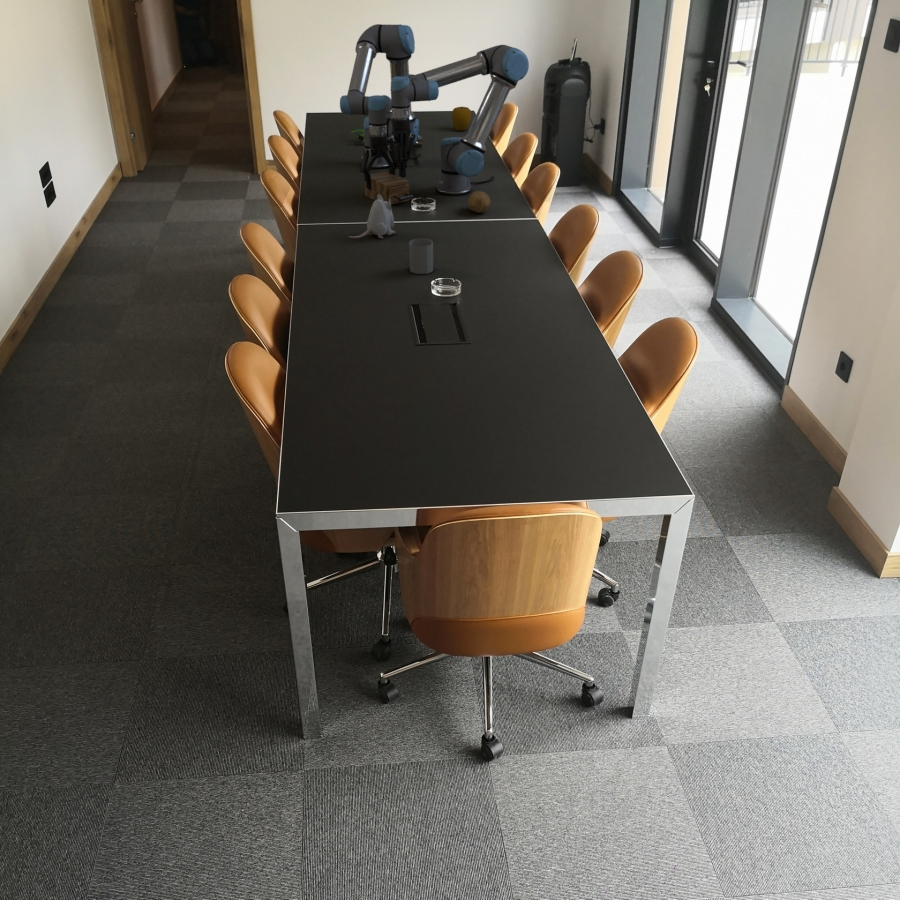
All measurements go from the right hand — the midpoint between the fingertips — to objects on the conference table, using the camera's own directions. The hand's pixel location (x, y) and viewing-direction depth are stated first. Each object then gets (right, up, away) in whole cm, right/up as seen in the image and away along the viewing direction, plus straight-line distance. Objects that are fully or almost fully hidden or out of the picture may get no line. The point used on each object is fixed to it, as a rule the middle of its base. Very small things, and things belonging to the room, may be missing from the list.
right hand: (402, 176), depth 365 cm
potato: (+32, -15, 0) cm, 35 cm away
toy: (-10, -33, -29) cm, 45 cm away
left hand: (-11, +1, +17) cm, 20 cm away
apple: (+27, +66, +126) cm, 144 cm away
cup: (+10, -51, -57) cm, 77 cm away
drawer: (-5, -6, +12) cm, 14 cm away
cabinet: (-8, -5, +16) cm, 18 cm away
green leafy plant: (-19, +51, +102) cm, 115 cm away
